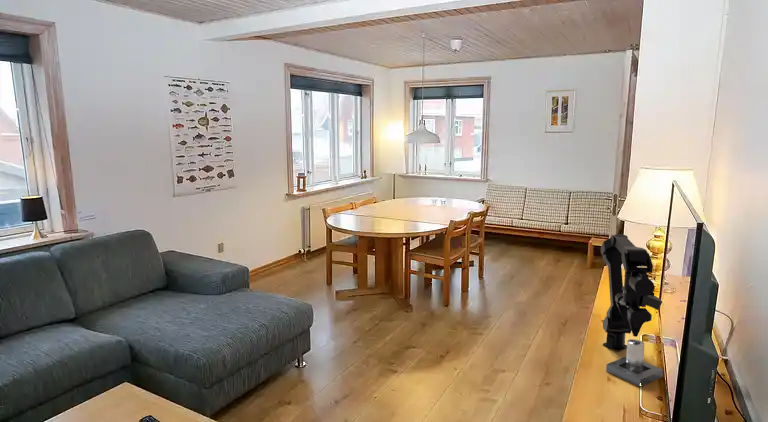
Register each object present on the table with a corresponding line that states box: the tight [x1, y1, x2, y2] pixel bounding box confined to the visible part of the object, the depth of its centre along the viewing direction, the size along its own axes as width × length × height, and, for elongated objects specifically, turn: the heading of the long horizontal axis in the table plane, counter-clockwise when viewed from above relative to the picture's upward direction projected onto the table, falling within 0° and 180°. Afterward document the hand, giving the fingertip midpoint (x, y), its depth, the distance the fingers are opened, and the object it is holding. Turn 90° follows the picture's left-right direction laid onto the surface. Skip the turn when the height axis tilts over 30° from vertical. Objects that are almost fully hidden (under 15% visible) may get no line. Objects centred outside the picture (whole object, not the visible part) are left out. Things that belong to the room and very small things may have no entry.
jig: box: [605, 356, 664, 387], centre depth 160 cm, size 12×12×2 cm
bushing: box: [625, 338, 645, 374], centre depth 160 cm, size 5×5×11 cm
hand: (630, 330), depth 163 cm, fingers open, 9 cm apart
